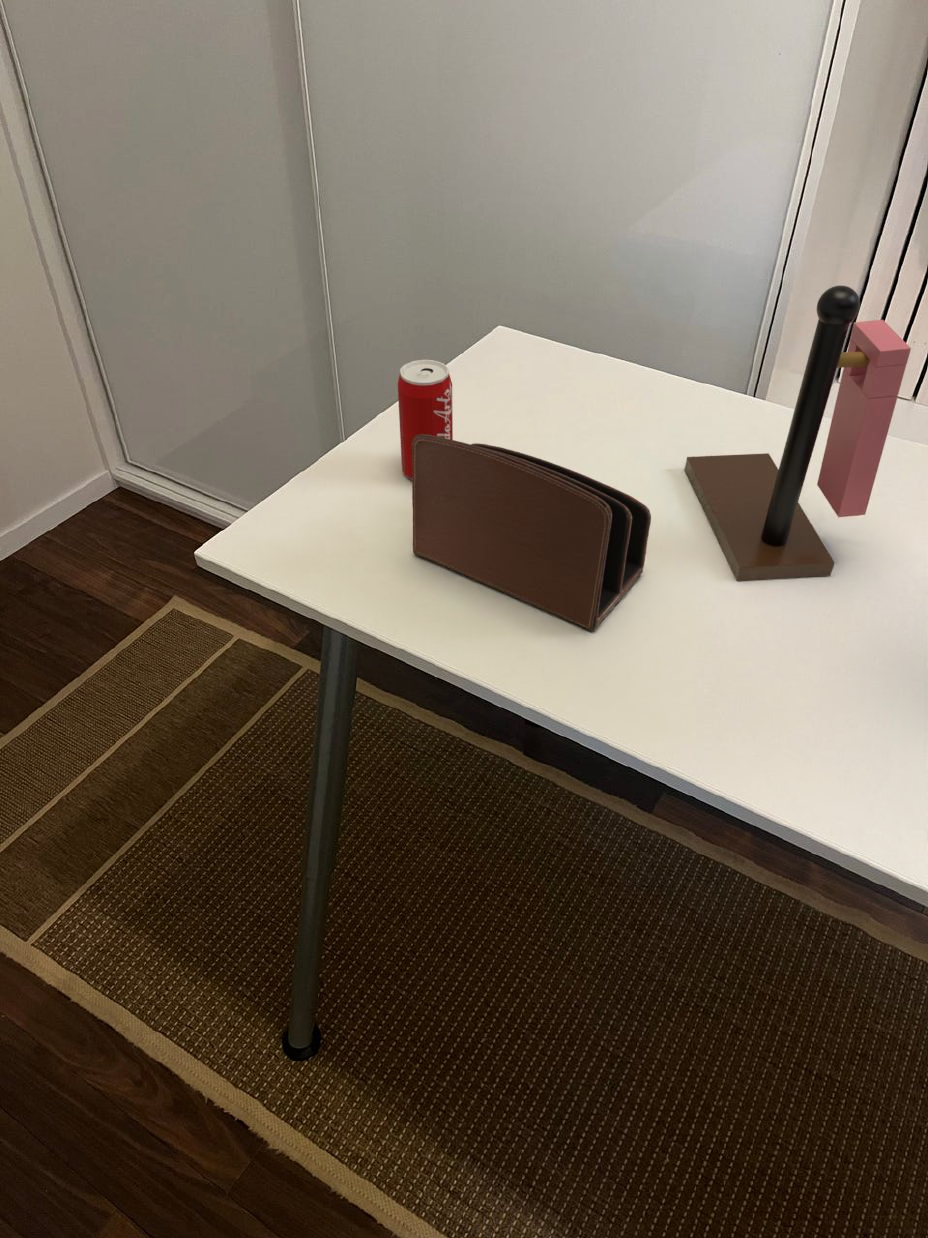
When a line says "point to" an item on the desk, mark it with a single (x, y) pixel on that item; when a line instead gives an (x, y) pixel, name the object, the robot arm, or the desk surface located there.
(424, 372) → the soda can
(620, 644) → the desk surface
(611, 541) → the letter holder
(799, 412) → the stand
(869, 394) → the pink block with hole
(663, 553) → the desk surface
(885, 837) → the desk surface
